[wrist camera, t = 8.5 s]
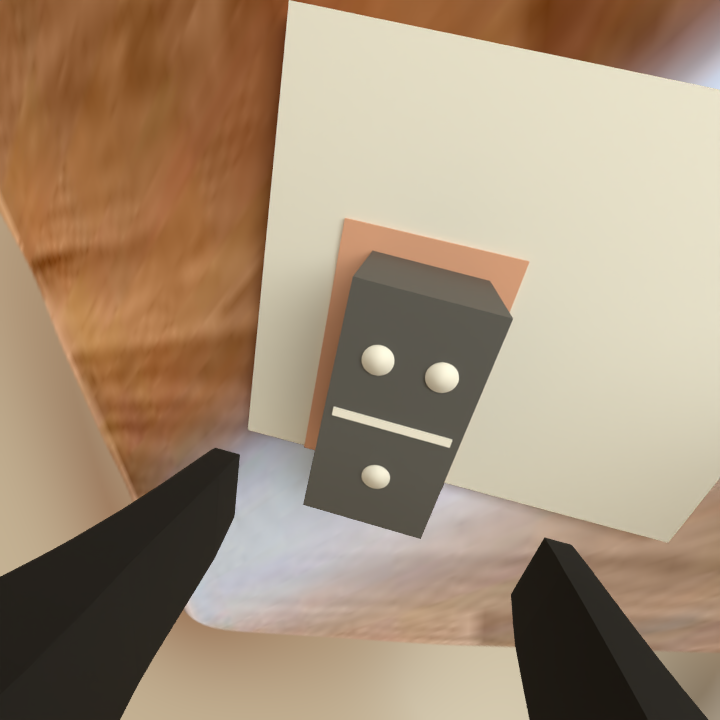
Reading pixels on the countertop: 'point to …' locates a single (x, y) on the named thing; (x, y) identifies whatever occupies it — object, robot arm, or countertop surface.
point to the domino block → (403, 390)
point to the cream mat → (509, 253)
